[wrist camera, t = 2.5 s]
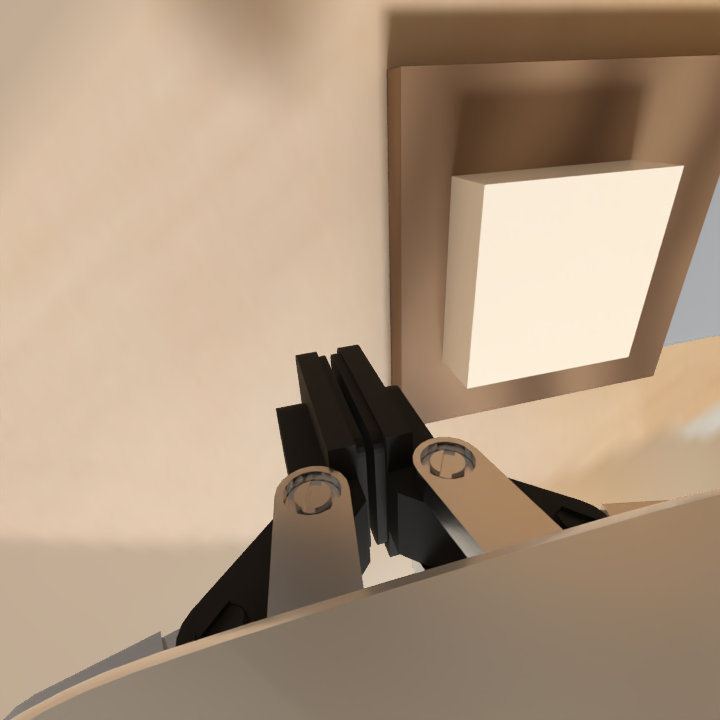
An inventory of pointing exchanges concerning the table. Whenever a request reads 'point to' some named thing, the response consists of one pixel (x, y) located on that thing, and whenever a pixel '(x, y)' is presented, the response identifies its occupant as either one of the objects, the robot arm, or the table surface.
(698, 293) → the mat
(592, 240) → the coaster
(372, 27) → the table surface
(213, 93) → the table surface
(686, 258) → the board
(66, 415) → the table surface
